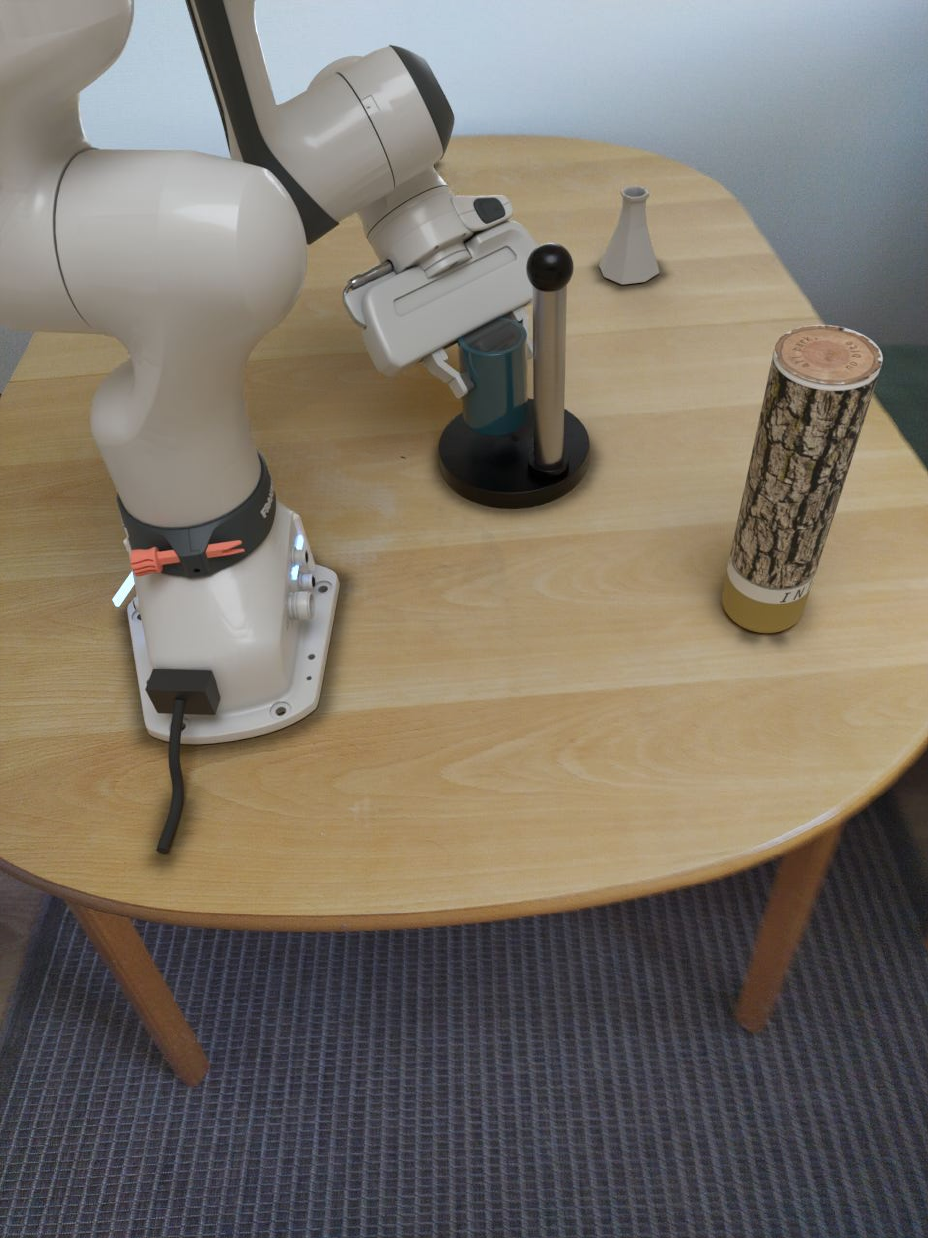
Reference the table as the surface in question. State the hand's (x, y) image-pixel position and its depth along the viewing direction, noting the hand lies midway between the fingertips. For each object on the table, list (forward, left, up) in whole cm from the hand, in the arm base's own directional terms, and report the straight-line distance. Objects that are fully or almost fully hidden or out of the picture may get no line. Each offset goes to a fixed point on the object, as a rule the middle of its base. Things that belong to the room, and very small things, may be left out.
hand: (498, 376), depth 89 cm
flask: (+31, -22, -9) cm, 39 cm away
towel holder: (-1, -1, -9) cm, 9 cm away
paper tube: (-25, -18, -9) cm, 32 cm away
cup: (0, 0, -5) cm, 5 cm away
